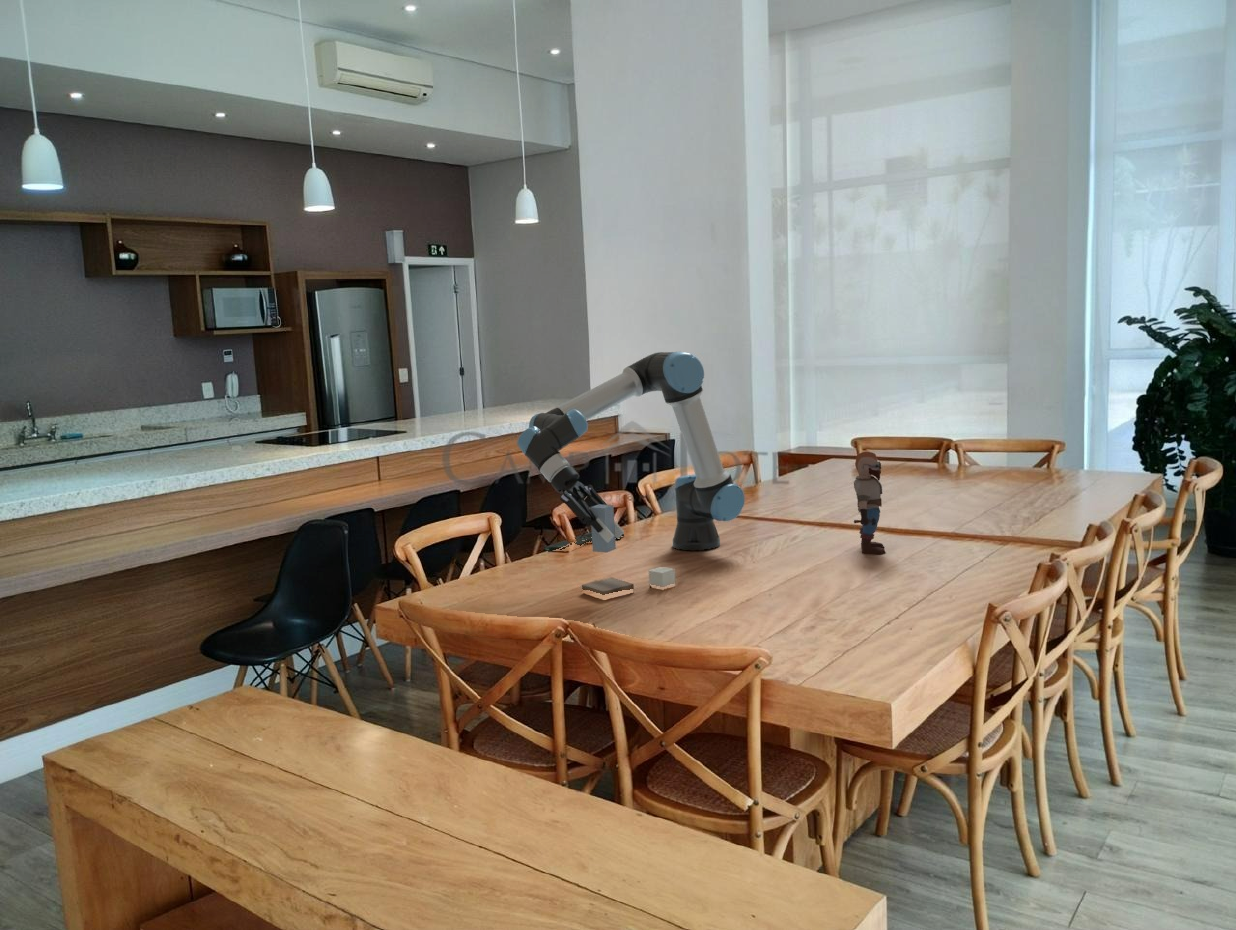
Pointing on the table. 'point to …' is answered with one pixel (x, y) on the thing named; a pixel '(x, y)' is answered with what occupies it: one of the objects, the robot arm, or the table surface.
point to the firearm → (564, 543)
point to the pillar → (607, 518)
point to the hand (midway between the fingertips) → (615, 537)
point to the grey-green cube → (662, 576)
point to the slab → (608, 586)
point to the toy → (868, 500)
